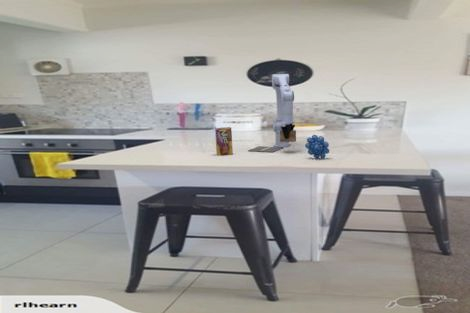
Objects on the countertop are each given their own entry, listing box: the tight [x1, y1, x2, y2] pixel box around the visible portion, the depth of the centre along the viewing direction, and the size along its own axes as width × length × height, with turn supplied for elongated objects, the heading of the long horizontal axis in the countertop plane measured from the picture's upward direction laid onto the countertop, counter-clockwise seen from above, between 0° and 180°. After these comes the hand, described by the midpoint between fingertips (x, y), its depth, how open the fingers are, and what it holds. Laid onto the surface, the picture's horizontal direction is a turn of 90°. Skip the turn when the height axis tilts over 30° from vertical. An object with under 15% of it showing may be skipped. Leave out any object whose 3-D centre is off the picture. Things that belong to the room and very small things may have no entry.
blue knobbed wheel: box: [304, 134, 330, 160], centre depth 164 cm, size 12×7×12 cm, turn 73°
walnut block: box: [280, 129, 297, 143], centre depth 184 cm, size 4×8×6 cm, turn 61°
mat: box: [247, 145, 284, 154], centre depth 198 cm, size 16×16×1 cm
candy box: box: [214, 126, 234, 156], centre depth 187 cm, size 9×4×15 cm, turn 101°
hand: (288, 138), depth 184 cm, fingers closed on walnut block, 4 cm apart
